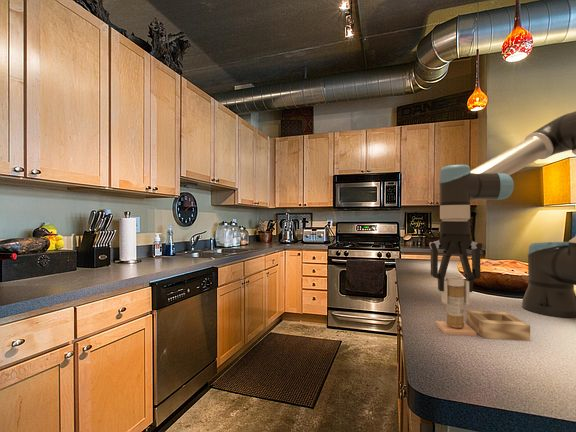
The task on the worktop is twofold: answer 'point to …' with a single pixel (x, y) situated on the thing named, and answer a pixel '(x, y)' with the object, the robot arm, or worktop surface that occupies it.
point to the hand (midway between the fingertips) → (455, 302)
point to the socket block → (498, 325)
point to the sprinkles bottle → (455, 302)
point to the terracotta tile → (455, 329)
